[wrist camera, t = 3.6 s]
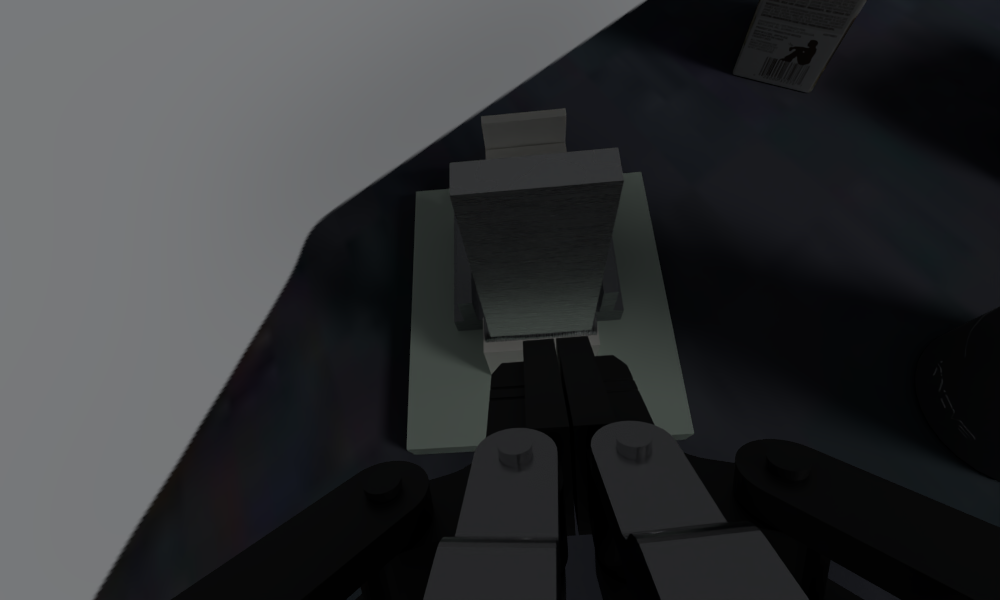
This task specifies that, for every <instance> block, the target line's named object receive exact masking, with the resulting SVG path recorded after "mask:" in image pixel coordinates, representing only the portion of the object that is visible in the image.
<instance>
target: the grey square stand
mask: <svg viewBox="0 0 1000 600" xmlns="http://www.w3.org/2000/svg"><path fill="white" fill-rule="evenodd" d="M481 124H482V131H483V137H484V143H485V149H486V150H485V151H486V160H487V159H498V158H509V157H520V156H531V155H542V154H553V153H564V152H567V151H566V143H565V136H566V109H565V108H564V109H554V110H543V111H533V112H523V113H512V114H502V115H492V116H481ZM623 178H624V183H623V187H622V192H621V196H620V201H619V206H618V210H617V215H616V219H615V224H614V228H613V233H612V239H613V245H614V252H615V258H616V264H617V270H618V277H619V283H620V289H621V295H622V301H623V308H624V311H623V314H622V317H621V319H620V320H608V321H597V335H590V336H588V338H589V341H590V344H591V347H592V350H593V353H594V356H604V355H614V356H615V357H617V358H618V359H620V360H621V361H622V362H624V363H625V364H627V366H628V368H629V370H630V372H631V374H632V376H633V380H634V381H635V383H636V385H637V387H638V391H639V392H640V394H641V396H642V398H643V401H644V403H645V405H646V407H647V409H648V412H649V414H650V416H651V418H652V420H653V422H654V425H655V426H658V427H660V428H662V429H664V430H665V431H667V432H668V433H669V434H670V435H672V436H673V438H674V439H675V440H685V439H687V438H688V437H690V436H691V435H693V434H694V431H693V426H692V421H691V416H690V411H689V406H688V401H687V396H686V391H685V386H684V381H683V376H682V371H681V366H680V361H679V356H678V352H677V347H676V342H675V337H674V332H673V327H672V322H671V317H670V312H669V307H668V302H667V297H666V292H665V287H664V282H663V277H662V272H661V268H660V263H659V258H658V253H657V248H656V243H655V238H654V233H653V228H652V223H651V218H650V213H649V208H648V203H647V198H646V193H645V189H644V184H643V179H642V174H641V172H634V173H623ZM576 337H579V336H576ZM561 338H565V337H561ZM547 339H553V338H547ZM532 340H540V339H532ZM523 341H526V340H518V341H503V342H489V343H486V341H485V335H484V317H483V329H480V330H466V331H458V329H457V327H456V325H455V323H454V209H453V206H452V202H451V199H450V189H441V190H430V191H418V192H416V209H415V236H414V263H413V290H412V317H411V344H410V371H409V398H408V425H407V450H408V451H410V452H411V453H413V454H415V455H417V454H435V453H453V452H471V451H475V450H476V448H477V446H478V445H479V444H480V443H481V441H482V440H484V439H485V438H486V431H487V419H488V408H489V397H490V385H491V375H492V373H493V372H494V371H495V370H496V369H497V368H498V366H499V365H500V364H501V363H509V362H522V361H523ZM554 343H555V349H556V338H554ZM556 354H557V353H556Z"/></svg>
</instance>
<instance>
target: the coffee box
mask: <svg viewBox="0 0 1000 600" xmlns="http://www.w3.org/2000/svg"><path fill="white" fill-rule="evenodd" d="M866 1H867V0H759V2H758V5H757V7H756V10H755V13H754V16H753V18H752V21H751V24H750V27H749V29H748V32H747V35H746V38H745V40H744V43H743V46H742V49H741V51H740V54H739V57H738V59H737V62H736V65H735V67H734V70H733V74H734V75H737V76H741V77H745V78H749V79H753V80H757V81H761V82H765V83H769V84H774V85H778V86H782V87H785V88H790V89H794V90H798V91H801V92H806V93H809V92H811V91H812V89H813V88H814V86H815V84H816V83H817V81H818V79H819V78H820V76H821V74H822V73H823V71H824V69H825V68H826V66H827V64H828V63H829V61H830V59H831V58H832V56H833V55H834V53H835V51H836V50H837V48H838V46H839V45H840V43H841V41H842V40H843V38H844V37H845V35H846V33H847V32H848V30H849V28H850V27H851V25H852V24H853V22H854V20H855V19H856V17H857V15H858V14H859V12H860V11H861V9H862V7H863V6H864V4H865V2H866Z"/></svg>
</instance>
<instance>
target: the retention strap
mask: <svg viewBox="0 0 1000 600" xmlns="http://www.w3.org/2000/svg"><path fill="white" fill-rule="evenodd" d="M623 183H624V178H623V172H622V167H621V161H620V156H619V150H618V148H608V149H597V150H586V151H575V152H564V153H553V154H542V155H531V156H520V157H509V158H498V159H487V160H476V161H465V162H454V163H450V199H451V202H452V206H453V209H454V213H455V216H456V219H457V223H458V226H459V230H460V233H461V237H462V240H463V244H464V247H465V250H466V254H467V257H468V261H469V264H470V268H471V271H472V274H473V278H474V281H475V285H476V288H477V292H478V295H479V298H480V302H481V305H482V309H483V312H484V335H485V341H486V343H489V342H503V341H518V340H532V339H547V338H561V337H576V336H590V335H597V316H596V306H597V302H598V297H599V293H600V288H601V283H602V279H603V274H604V270H605V265H606V261H607V256H608V251H609V247H610V242H611V238H612V233H613V228H614V224H615V219H616V215H617V210H618V206H619V201H620V196H621V192H622V187H623Z"/></svg>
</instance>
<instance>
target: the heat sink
mask: <svg viewBox="0 0 1000 600" xmlns="http://www.w3.org/2000/svg"><path fill="white" fill-rule="evenodd" d="M623 311H624V308H623V301H622V295H621V289H620V283H619V277H618V270H617V264H616V258H615V252H614V245H613V239H612V238H611V242H610V247H609V251H608V256H607V261H606V265H605V270H604V274H603V279H602V283H601V288H600V293H599V297H598V302H597V306H596V316H597V321H608V320H620V319H621V317H622V314H623ZM483 317H484V312H483V309H482V305H481V302H480V298H479V295H478V292H477V288H476V285H475V281H474V278H473V274H472V271H471V268H470V264H469V261H468V257H467V254H466V250H465V247H464V244H463V240H462V237H461V233H460V230H459V226H458V223H457V219H456V216H455V213H454V323H455V325H456V327H457V329H458V331H466V330H480V329H483Z"/></svg>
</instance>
